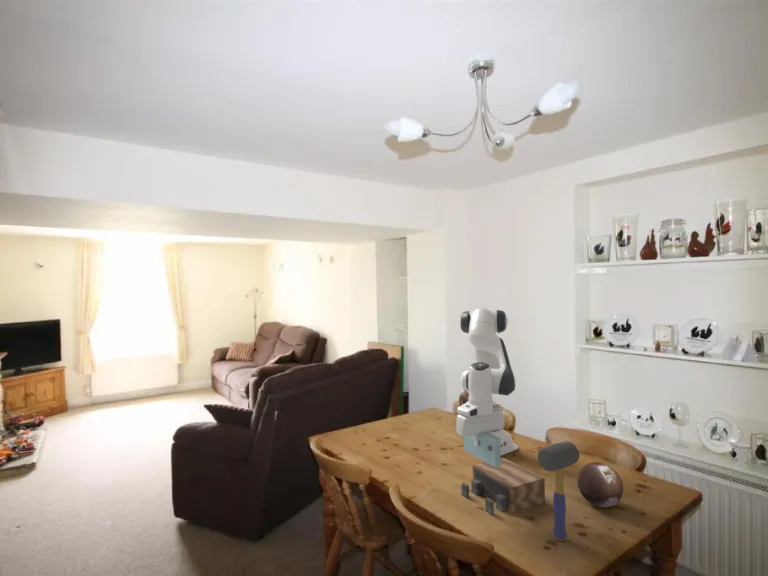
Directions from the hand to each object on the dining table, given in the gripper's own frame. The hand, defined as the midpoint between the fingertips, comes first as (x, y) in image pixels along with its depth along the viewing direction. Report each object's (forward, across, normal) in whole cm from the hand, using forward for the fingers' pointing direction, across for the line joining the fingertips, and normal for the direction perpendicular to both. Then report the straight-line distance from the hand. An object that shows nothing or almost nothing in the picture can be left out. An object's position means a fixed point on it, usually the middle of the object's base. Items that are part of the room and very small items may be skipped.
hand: (481, 444), depth 162 cm
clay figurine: (+22, -56, -80) cm, 100 cm away
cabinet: (+22, -9, 0) cm, 23 cm away
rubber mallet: (+22, -7, +30) cm, 38 cm away
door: (+5, 0, 0) cm, 5 cm away
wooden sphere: (+22, -37, +22) cm, 48 cm away
